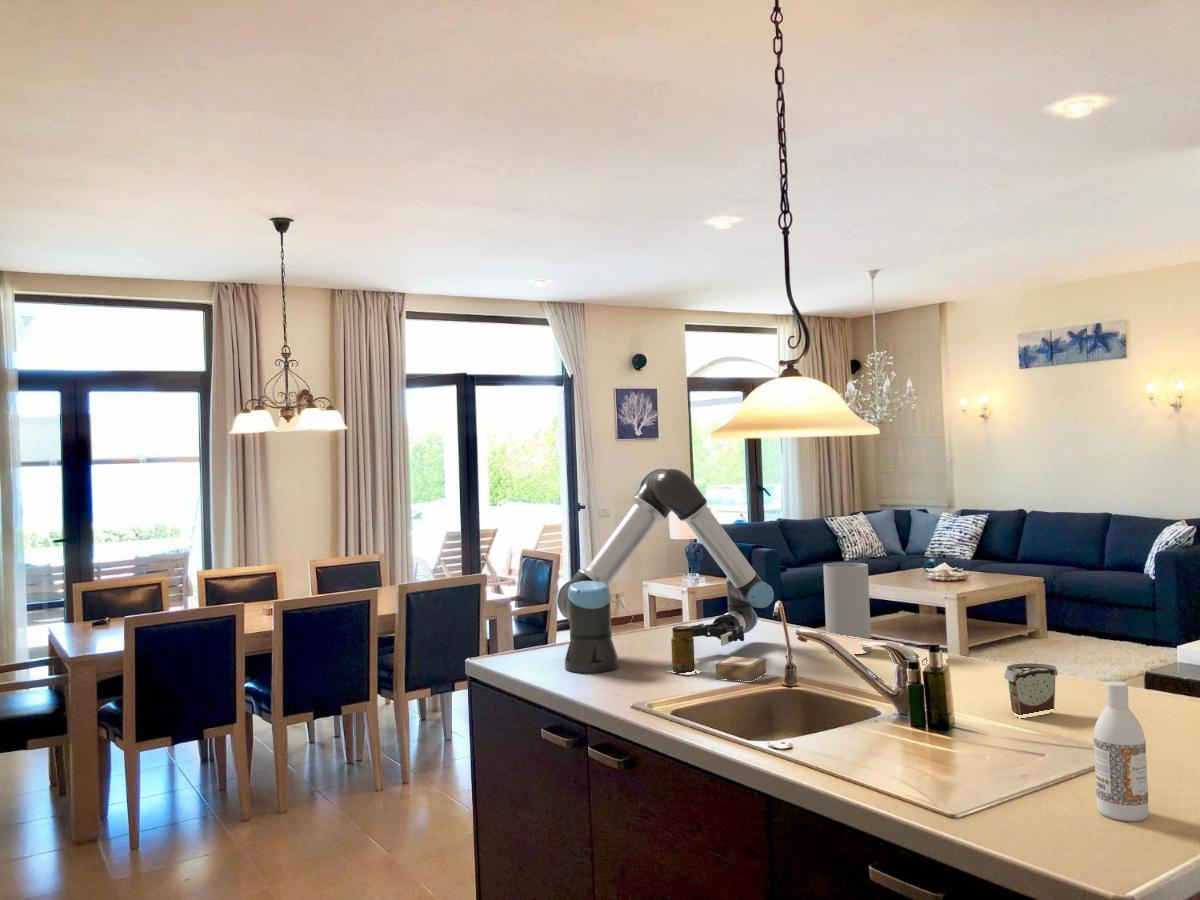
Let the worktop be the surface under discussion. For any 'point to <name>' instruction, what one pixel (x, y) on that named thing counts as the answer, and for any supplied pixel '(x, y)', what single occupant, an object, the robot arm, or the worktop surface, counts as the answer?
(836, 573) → the cylinder vase
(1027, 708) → the food container
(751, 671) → the plinth
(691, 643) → the condiment
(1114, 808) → the bath foam
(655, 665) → the worktop surface
